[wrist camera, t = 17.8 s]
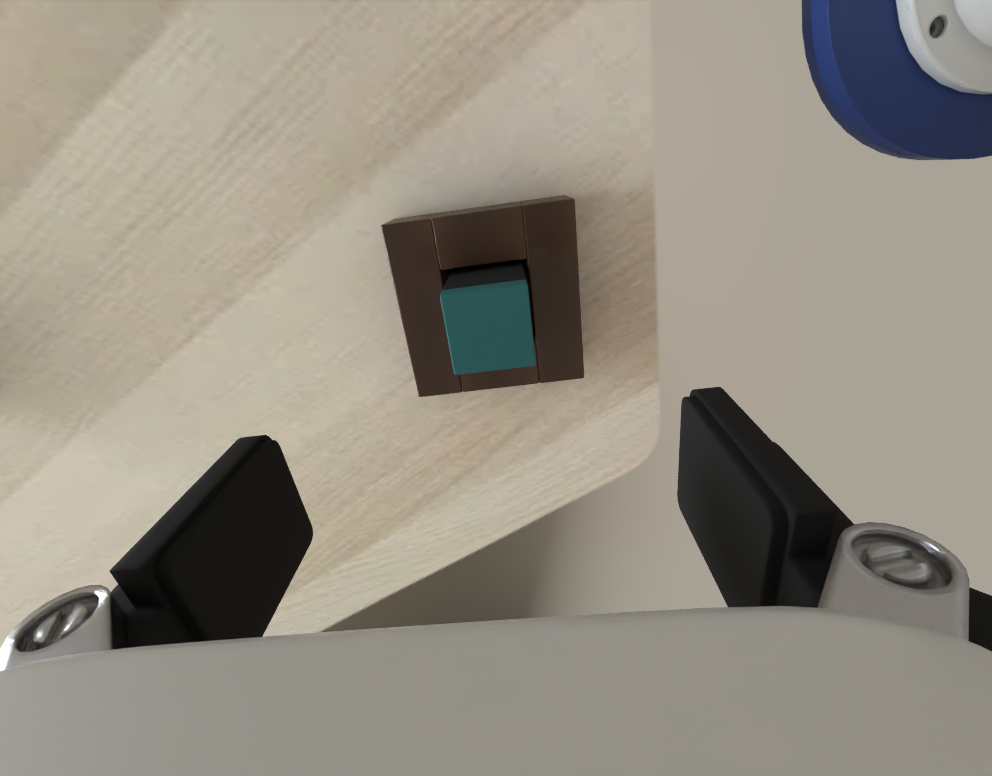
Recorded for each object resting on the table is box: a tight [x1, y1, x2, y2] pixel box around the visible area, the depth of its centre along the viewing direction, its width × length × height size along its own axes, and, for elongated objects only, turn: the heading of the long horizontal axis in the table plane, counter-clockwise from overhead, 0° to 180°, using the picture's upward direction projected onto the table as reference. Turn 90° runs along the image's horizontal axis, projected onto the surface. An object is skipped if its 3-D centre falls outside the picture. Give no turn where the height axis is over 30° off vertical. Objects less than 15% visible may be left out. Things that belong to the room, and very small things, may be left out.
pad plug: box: [440, 260, 536, 375], centre depth 24 cm, size 4×4×7 cm
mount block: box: [381, 195, 584, 397], centre depth 25 cm, size 9×9×3 cm
